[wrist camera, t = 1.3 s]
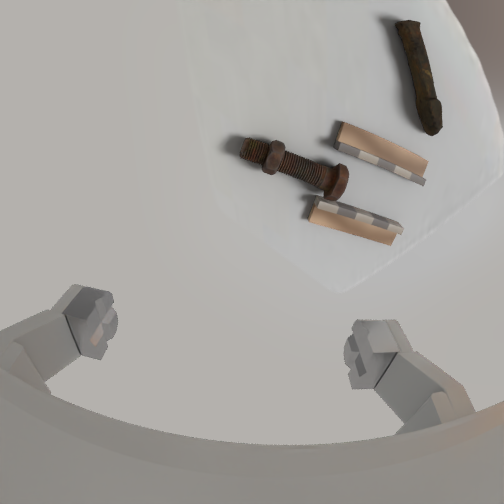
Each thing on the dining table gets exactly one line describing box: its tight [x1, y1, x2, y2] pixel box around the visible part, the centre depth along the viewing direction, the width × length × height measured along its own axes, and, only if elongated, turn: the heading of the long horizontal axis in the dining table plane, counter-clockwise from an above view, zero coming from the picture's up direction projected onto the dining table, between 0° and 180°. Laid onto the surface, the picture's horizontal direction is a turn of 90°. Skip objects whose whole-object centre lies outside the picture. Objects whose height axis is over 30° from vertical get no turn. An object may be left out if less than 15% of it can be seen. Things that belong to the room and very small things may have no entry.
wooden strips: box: [308, 122, 428, 246], centre depth 39 cm, size 16×16×2 cm
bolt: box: [240, 138, 349, 201], centre depth 37 cm, size 6×5×15 cm
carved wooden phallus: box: [395, 20, 443, 136], centre depth 29 cm, size 19×4×5 cm, turn 14°
